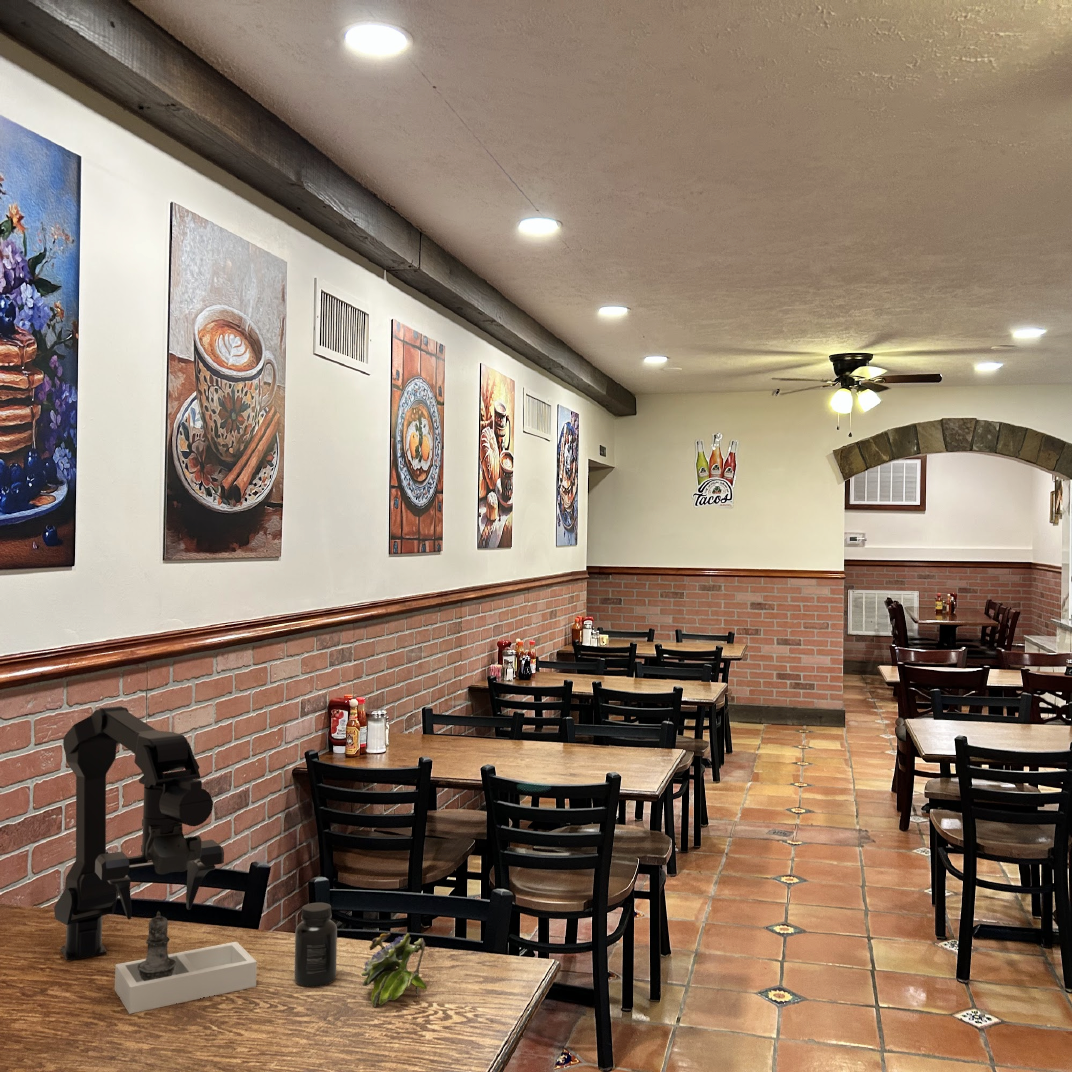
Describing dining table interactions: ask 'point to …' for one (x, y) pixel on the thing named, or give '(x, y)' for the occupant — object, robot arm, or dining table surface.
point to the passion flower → (392, 968)
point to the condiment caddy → (187, 977)
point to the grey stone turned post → (157, 951)
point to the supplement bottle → (315, 946)
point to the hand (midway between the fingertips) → (159, 913)
